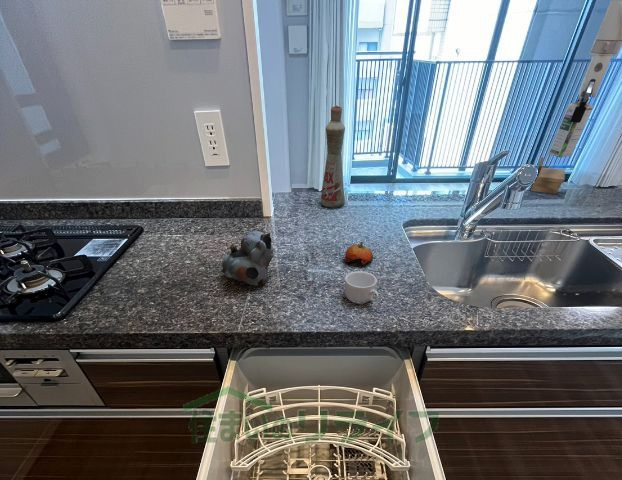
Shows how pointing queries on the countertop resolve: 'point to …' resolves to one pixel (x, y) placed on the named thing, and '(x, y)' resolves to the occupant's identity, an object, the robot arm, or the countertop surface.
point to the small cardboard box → (548, 179)
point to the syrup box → (569, 132)
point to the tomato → (358, 253)
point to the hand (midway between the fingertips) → (575, 119)
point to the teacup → (360, 287)
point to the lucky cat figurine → (250, 259)
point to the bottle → (334, 162)
